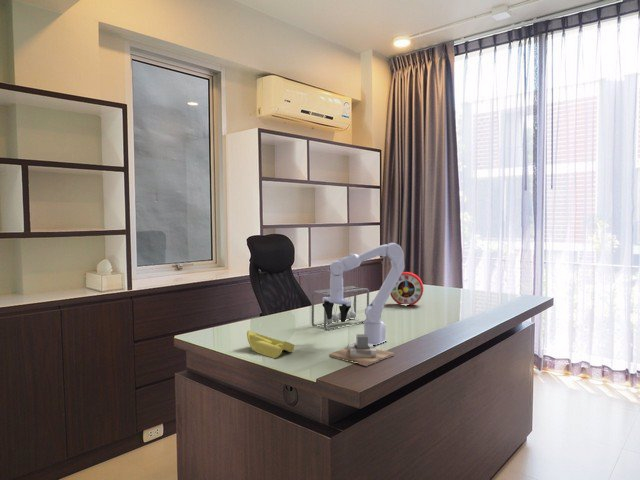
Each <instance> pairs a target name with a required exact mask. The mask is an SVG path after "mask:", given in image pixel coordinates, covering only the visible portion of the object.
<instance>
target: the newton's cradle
mask: <svg viewBox="0 0 640 480" xmlns="http://www.w3.org/2000/svg"><path fill="white" fill-rule="evenodd" d="M363 291H366V307H367V306H369V305H370V290H369V288H367V287H364V288H362V287H357V286H354V285H351V286H343V295H345V294H349V295H348V297H351V293H353V304H352V306H353V308H350V310H349V311H348V313H347V316H346V319H350V318H354V319H356V317H357V292H363ZM315 294H322V295H324V297H330V288H328V289H326V288H325V289H321V290H314V291H313V292H312V293H311V325H312V327H314V326H317V325H322V324H324V325H322V326H318V328H320V327H321V329H324V328H325V329H324V330H326V331H327V330H328V331H330V330H329V329H333V330H335V329H334V328H338V327H342V326H346V325H351V324H357V323H361V322H364V320H362V321H357V322H352V323H346V324H342V325H337V326H332V327H327V325H328V324H327V323H332V322H336V321H339V320H341V314H340V312H338V313H337V312H336V311H337V309H338V307H336V308H333V310H334V311H333V312H334V313H332V319H327V315H326V311H325V309H323V322H322V323H321V322H320V323H316V324H315ZM345 298H346V297H345V296H343V299H345ZM345 300H346V299H345ZM338 305H339V306H341V304H338ZM326 324H327V325H326ZM332 324H333V323H332ZM357 325H358V324H357ZM338 329H339V328H338Z"/></svg>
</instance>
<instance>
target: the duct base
mask: <svg viewBox="0 0 640 480" xmlns="http://www.w3.org/2000/svg"><path fill="white" fill-rule="evenodd" d="M394 353H395V352H390V351H387V350H382V349H380V348H379V349H378V348H375V346H373V344H368V349H356V343H348V347H345V348H343V349H339V350H336V351H333V352H330V353H329V354H328V356H329V357H330V356H331V358H334V357H335V358H334V359H337V358H339V359H338V360H341V359H344V360H348V361H353V362H361V363H363V362H364V363H365V364H369V363H371V362H374V361H377V360H380V359H382V358H385V357H387V356H390V355H392V354H394ZM394 355H395V354H394ZM344 360H343V361H344ZM348 361H347V362H348ZM366 362H367V363H366Z"/></svg>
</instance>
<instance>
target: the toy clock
mask: <svg viewBox="0 0 640 480" xmlns="http://www.w3.org/2000/svg"><path fill="white" fill-rule="evenodd" d="M423 293H424V284H423V281H422V279H421V278H420V277H419V275H417V274H415V273H413V272H410V271H403V272H402V274H401V276H400V277H399V279H398V281H397V283H396V285H395V286H394V288H393V290H392V292H391V294H390V297H391V298H392V300H393V301H394V302H395V303H396V304H398V305H400V304H409V305H411V306H414V305H415V304H417V303H418V302H419V301H420V299H421V298H422V296H423V295H424V294H423Z"/></svg>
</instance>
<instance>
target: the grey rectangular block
mask: <svg viewBox="0 0 640 480" xmlns="http://www.w3.org/2000/svg"><path fill="white" fill-rule="evenodd" d="M355 344H356V349H368V336H367V334H364V333H363V334H359V333H357V334H356V343H355Z"/></svg>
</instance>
